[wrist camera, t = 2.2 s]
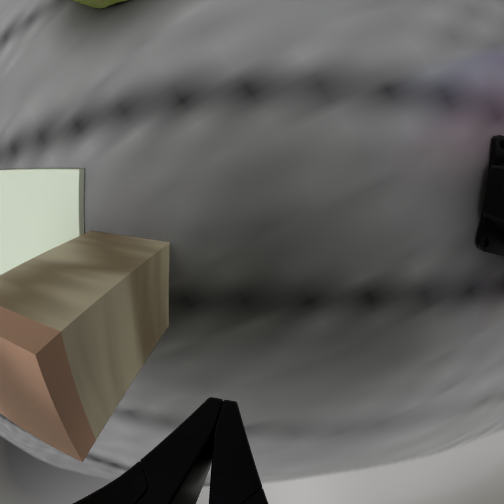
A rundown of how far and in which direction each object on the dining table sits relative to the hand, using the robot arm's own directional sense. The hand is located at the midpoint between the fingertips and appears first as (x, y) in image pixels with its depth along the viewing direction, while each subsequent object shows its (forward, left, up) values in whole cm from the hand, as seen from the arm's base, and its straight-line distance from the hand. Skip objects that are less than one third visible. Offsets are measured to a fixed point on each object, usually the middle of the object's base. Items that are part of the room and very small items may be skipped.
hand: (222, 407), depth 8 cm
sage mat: (+16, 0, -8) cm, 18 cm away
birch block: (+7, 0, -8) cm, 10 cm away
